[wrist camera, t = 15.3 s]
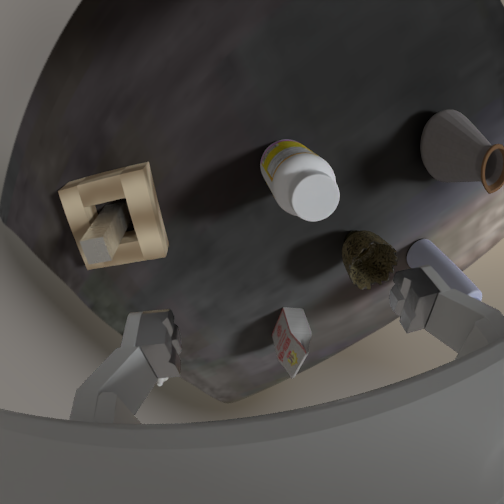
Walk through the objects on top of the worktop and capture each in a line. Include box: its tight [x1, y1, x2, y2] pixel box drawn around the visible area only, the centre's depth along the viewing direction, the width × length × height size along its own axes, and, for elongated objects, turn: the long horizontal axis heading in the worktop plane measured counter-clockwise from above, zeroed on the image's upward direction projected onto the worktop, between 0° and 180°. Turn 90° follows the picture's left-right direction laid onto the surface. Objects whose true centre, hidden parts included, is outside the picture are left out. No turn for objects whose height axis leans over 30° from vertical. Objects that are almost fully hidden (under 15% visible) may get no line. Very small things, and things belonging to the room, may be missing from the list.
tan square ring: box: [58, 162, 169, 270], centre depth 37 cm, size 12×12×4 cm
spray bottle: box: [407, 239, 482, 301], centre depth 39 cm, size 6×6×22 cm
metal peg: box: [80, 201, 131, 264], centre depth 34 cm, size 3×3×10 cm
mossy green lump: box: [342, 230, 398, 290], centre depth 42 cm, size 8×7×8 cm
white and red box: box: [272, 307, 312, 378], centre depth 48 cm, size 4×7×10 cm, turn 166°
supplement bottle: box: [260, 139, 340, 222], centre depth 32 cm, size 7×7×13 cm
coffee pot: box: [420, 109, 504, 194], centre depth 32 cm, size 21×12×15 cm, turn 84°
